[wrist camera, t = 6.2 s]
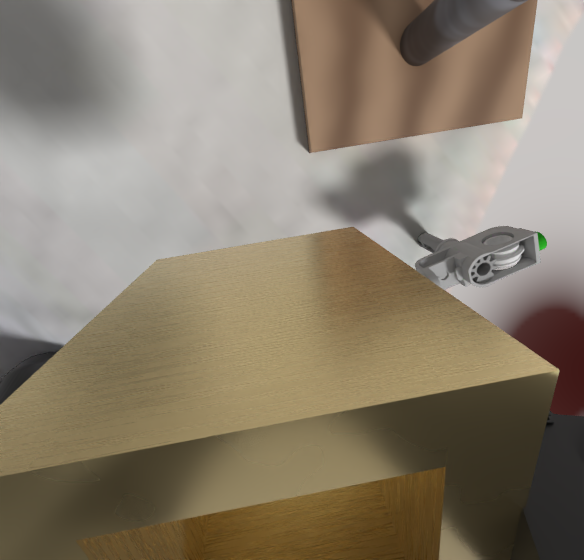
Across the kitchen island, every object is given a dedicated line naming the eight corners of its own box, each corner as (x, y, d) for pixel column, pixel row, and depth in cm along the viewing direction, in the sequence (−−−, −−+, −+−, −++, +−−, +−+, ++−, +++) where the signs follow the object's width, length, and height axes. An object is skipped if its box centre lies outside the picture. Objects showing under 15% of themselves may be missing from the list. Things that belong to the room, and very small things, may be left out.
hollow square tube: (207, 409, 15) (138, 728, 6) (157, 259, 12) (-97, 494, 3) (363, 380, 15) (490, 650, 7) (353, 226, 12) (559, 370, 4)
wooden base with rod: (309, 153, 29) (346, 145, 15) (286, -39, 23) (314, -296, 10) (509, 120, 29) (710, 86, 16) (532, -76, 24) (861, -367, 11)
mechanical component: (377, 247, 33) (421, 281, 23) (465, 207, 32) (547, 226, 23) (385, 269, 34) (430, 310, 25) (470, 232, 33) (550, 259, 24)
